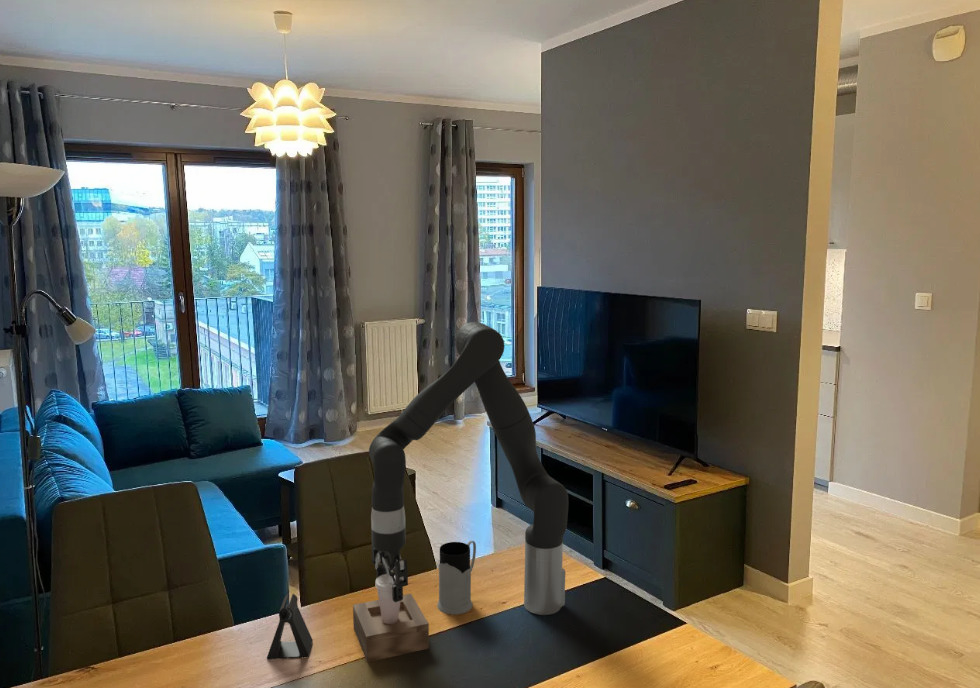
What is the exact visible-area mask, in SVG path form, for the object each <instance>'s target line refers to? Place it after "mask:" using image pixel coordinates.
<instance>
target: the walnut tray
mask: <svg viewBox="0 0 980 688" xmlns="http://www.w3.org/2000/svg"><path fill="white" fill-rule="evenodd" d="M352 615H353V617H352V618H353V619H352V621H353V623H352V626H353V631H354V633H355V635H356V638H357V640H358V643H359V647H361V651H362V653H363V656H364V658H365V661H366V663H370V662H374V660H375V661H378V660H377V659H379V660H383V659H382V658H384V659H388V658H393V657H397V656H401V655H405V654H410V652H411V653H414V651H415V652H419V651H423V650H428V649H430V638H429V637H430V635H429V634H430V633H429V632H430V627H429V626H430V624H429V621H428V620H427V619H426V618H427V617H425V615H424V613H423V612H422V610H421V608H420V606H419V604H418V602H417V601H416V600H415V598H414V596H413V595H412V593H408V594H403V599H402V600H401V601H400V609H399V617H398V621H397V622H395V623H393V624H386V623H384V622H382V617H381V610H380V604H379V599H377V600H371V601H366V602H361V603H356V604H353V605H352ZM387 657H388V658H387Z"/></svg>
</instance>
